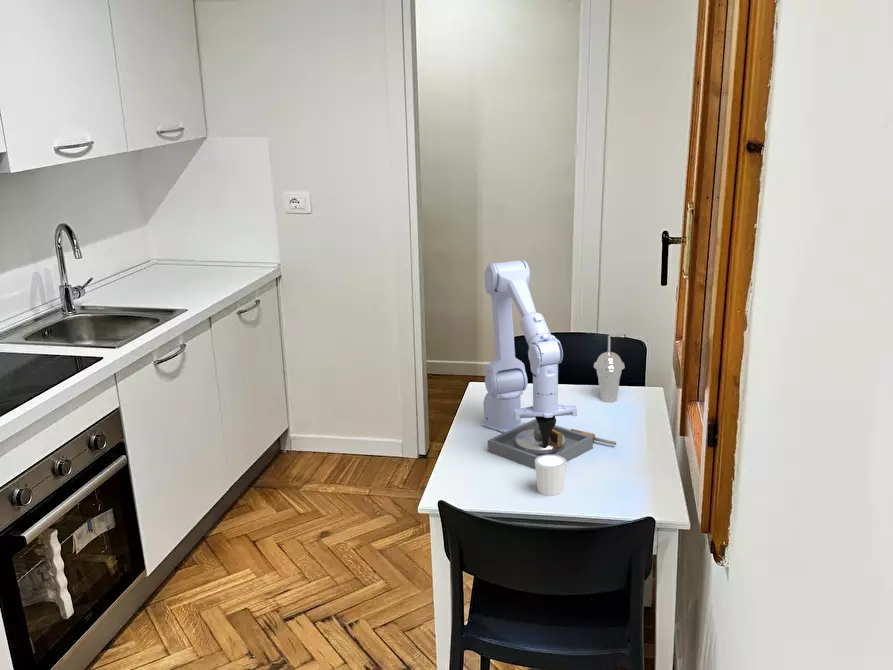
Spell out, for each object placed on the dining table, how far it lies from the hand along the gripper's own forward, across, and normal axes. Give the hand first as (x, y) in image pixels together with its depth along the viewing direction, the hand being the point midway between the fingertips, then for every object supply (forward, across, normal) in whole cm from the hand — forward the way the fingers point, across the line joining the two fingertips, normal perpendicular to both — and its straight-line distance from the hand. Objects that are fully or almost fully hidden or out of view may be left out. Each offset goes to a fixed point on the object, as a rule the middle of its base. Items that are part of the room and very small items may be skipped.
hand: (545, 445), depth 196 cm
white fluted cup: (+4, -2, -16) cm, 16 cm away
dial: (+2, 0, +5) cm, 5 cm away
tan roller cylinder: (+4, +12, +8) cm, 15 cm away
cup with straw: (+4, +25, +36) cm, 44 cm away
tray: (+4, 0, +5) cm, 6 cm away
